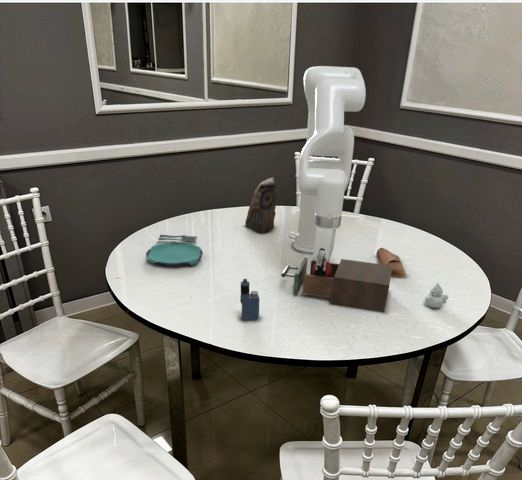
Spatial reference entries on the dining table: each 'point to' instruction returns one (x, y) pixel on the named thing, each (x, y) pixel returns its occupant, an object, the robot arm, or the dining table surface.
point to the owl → (262, 207)
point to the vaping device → (249, 302)
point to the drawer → (311, 280)
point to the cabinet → (361, 285)
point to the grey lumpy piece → (436, 297)
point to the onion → (328, 269)
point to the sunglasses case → (391, 262)
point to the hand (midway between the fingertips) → (321, 277)
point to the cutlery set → (175, 251)
